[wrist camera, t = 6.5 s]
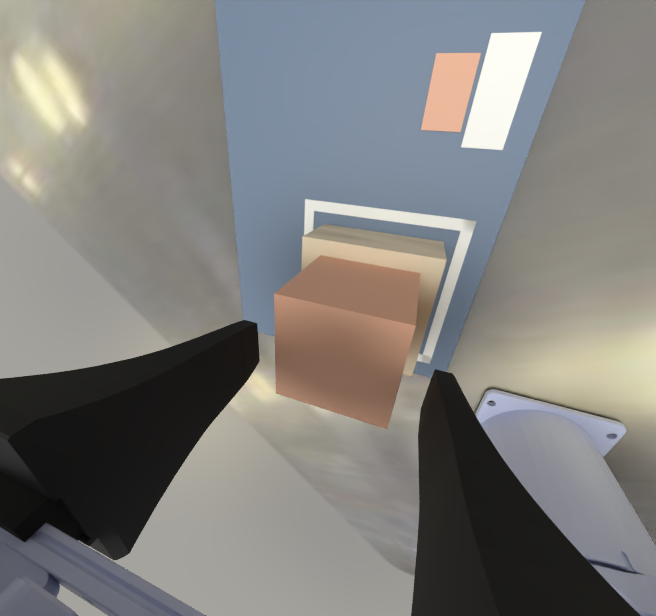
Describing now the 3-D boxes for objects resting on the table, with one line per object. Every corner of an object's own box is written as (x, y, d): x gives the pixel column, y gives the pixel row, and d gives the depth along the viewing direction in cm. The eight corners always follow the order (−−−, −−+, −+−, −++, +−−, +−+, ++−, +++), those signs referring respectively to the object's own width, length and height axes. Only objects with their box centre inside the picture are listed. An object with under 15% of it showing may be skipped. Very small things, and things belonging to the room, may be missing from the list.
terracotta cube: (398, 356, 15) (387, 429, 11) (315, 335, 16) (276, 393, 12) (420, 273, 13) (415, 325, 9) (320, 255, 14) (274, 293, 10)
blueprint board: (442, 373, 20) (442, 381, 19) (249, 323, 24) (243, 328, 23) (591, -33, 10) (604, -49, 9) (223, -6, 14) (212, -16, 13)
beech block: (414, 343, 19) (411, 376, 16) (318, 320, 20) (299, 346, 17) (443, 241, 15) (446, 260, 12) (324, 223, 17) (302, 236, 14)
